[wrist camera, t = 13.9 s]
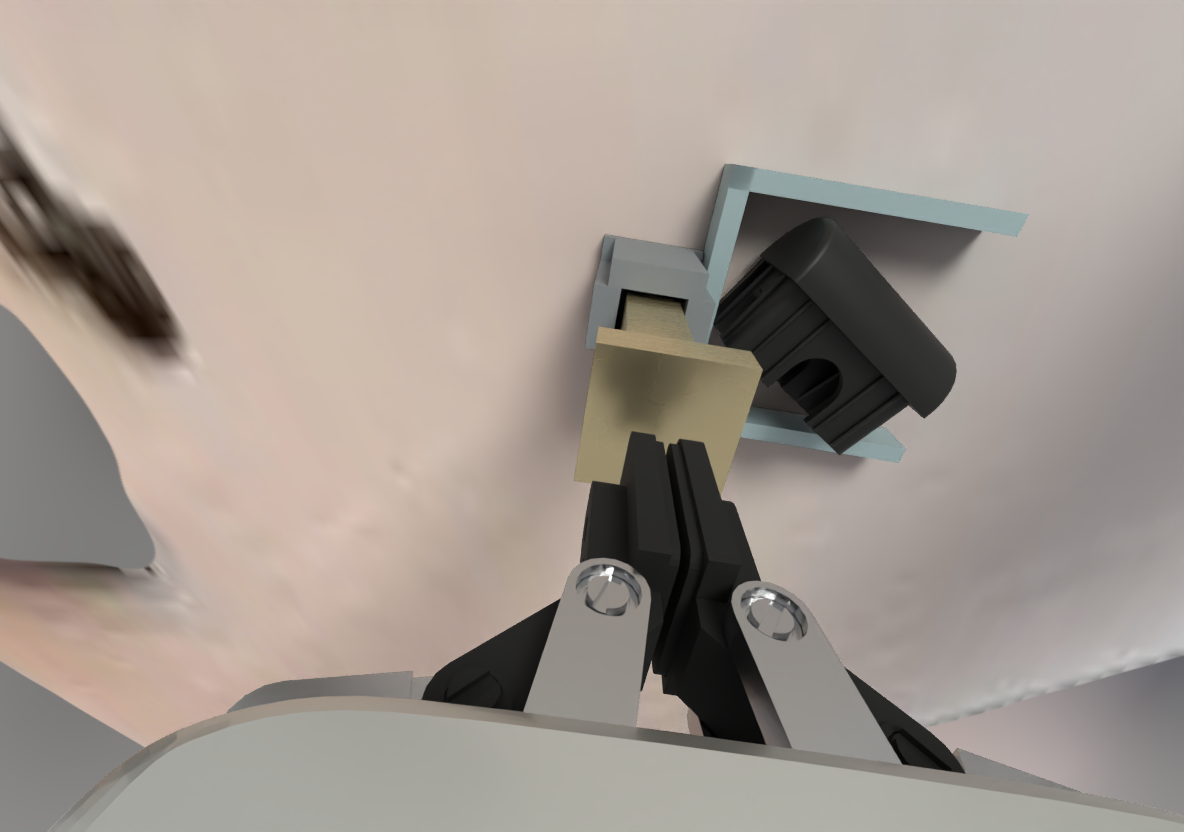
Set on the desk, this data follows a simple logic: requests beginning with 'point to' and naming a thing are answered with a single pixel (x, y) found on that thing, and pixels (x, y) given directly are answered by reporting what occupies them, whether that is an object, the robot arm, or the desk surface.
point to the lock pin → (662, 390)
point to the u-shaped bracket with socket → (705, 272)
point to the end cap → (834, 335)
